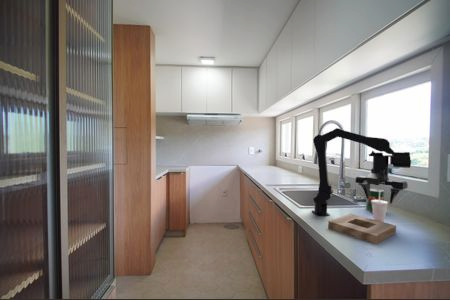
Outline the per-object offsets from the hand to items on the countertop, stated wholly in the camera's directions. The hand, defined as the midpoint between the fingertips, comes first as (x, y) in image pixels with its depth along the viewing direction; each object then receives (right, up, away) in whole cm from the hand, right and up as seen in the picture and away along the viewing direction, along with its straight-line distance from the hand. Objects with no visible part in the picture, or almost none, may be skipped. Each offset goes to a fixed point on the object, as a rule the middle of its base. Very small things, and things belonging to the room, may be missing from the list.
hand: (379, 201), depth 102 cm
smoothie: (0, -10, 0) cm, 10 cm away
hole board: (-13, -10, -9) cm, 19 cm away
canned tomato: (+11, -9, +19) cm, 24 cm away
